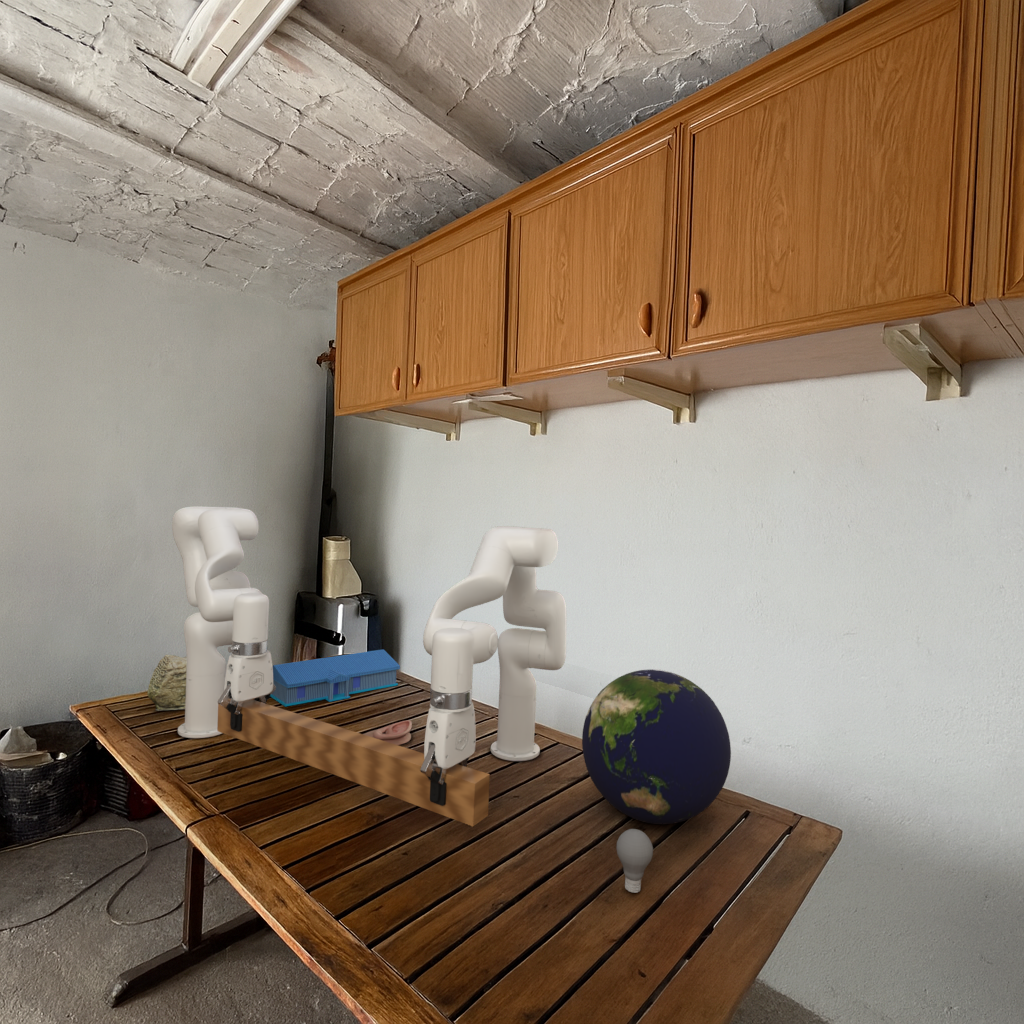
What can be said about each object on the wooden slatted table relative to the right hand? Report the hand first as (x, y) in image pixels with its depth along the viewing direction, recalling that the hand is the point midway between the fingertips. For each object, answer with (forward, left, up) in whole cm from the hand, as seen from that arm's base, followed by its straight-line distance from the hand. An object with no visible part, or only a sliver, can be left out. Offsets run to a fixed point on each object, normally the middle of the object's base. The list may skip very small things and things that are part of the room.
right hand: (447, 796), depth 115 cm
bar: (-14, -25, -2) cm, 29 cm away
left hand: (-29, -50, 0) cm, 58 cm away
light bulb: (+9, +33, -10) cm, 35 cm away
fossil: (-67, -86, -10) cm, 110 cm away
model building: (-91, -50, -10) cm, 104 cm away
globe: (-18, +41, -10) cm, 45 cm away
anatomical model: (-50, -23, -10) cm, 56 cm away
